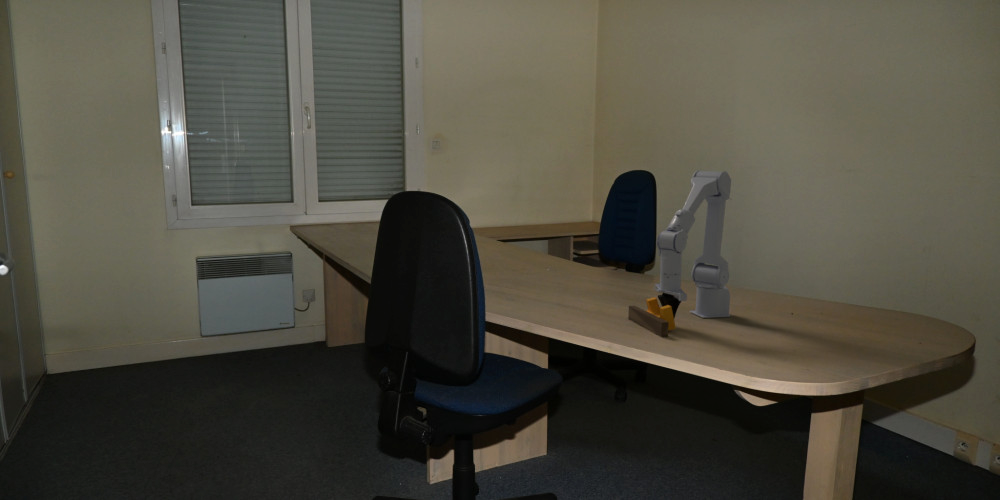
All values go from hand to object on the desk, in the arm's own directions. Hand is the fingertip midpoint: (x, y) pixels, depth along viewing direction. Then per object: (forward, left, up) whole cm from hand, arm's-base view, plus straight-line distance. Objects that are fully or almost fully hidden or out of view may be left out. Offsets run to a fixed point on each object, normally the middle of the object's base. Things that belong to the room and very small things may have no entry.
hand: (669, 320), depth 190 cm
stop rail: (+7, 0, -2) cm, 7 cm away
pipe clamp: (+3, 0, -2) cm, 3 cm away
